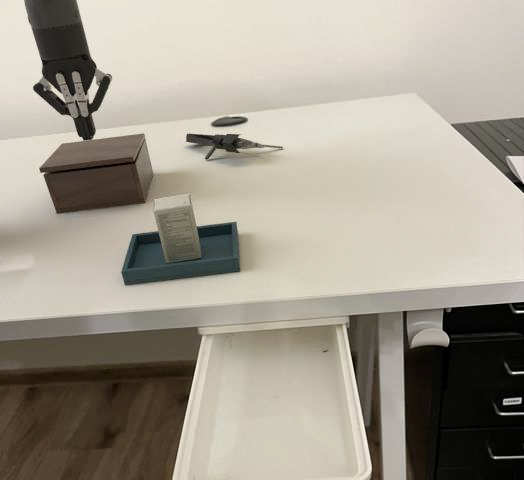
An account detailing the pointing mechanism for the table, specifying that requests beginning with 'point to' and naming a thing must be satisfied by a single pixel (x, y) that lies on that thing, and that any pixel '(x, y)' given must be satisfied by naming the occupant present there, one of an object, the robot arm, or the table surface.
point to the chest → (101, 184)
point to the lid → (94, 153)
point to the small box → (177, 228)
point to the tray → (212, 261)
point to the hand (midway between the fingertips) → (88, 138)
